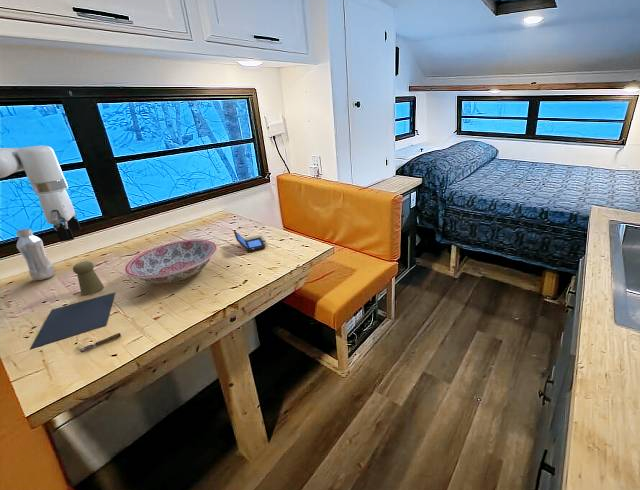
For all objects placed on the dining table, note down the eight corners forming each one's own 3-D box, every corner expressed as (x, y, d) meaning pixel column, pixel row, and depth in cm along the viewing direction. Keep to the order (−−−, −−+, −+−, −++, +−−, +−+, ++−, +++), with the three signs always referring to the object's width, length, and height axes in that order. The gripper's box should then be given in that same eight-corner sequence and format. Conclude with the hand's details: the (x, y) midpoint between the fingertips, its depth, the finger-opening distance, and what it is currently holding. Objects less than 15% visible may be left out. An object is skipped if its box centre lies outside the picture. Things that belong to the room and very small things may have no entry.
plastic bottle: (46, 273, 120) (24, 226, 114) (62, 273, 120) (41, 226, 113) (27, 282, 114) (3, 234, 107) (44, 282, 114) (21, 234, 107)
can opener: (121, 335, 87) (120, 331, 87) (120, 339, 85) (119, 336, 85) (78, 349, 82) (77, 346, 82) (77, 355, 80) (75, 352, 80)
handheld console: (265, 249, 136) (263, 234, 133) (239, 255, 131) (236, 240, 128) (260, 239, 146) (258, 224, 144) (236, 244, 141) (233, 229, 138)
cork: (79, 297, 105) (67, 269, 101) (83, 288, 110) (72, 262, 106) (102, 291, 108) (91, 264, 104) (105, 283, 113) (95, 257, 109)
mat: (30, 349, 83) (29, 348, 83) (51, 310, 99) (51, 309, 99) (106, 325, 91) (106, 324, 91) (115, 292, 107) (115, 292, 107)
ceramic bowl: (183, 252, 135) (179, 235, 132) (236, 261, 126) (233, 243, 124) (111, 289, 109) (103, 270, 106) (171, 303, 100) (165, 283, 98)
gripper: (42, 182, 100) (62, 229, 106) (22, 195, 87) (47, 248, 93) (73, 178, 104) (91, 224, 110) (59, 190, 91) (80, 241, 97)
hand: (71, 235), depth 102 cm, fingers open, 9 cm apart
